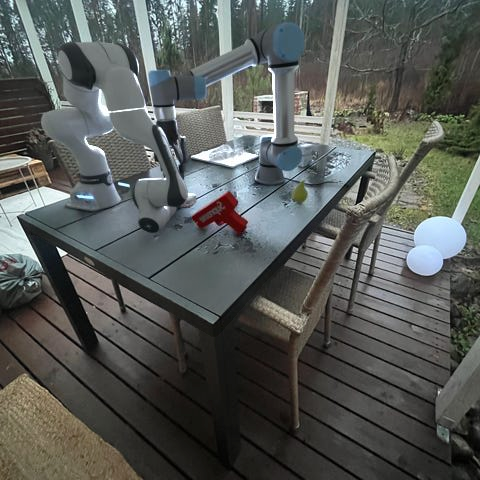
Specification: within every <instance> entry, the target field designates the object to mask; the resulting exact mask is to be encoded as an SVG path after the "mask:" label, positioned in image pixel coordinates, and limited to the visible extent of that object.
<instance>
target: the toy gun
mask: <svg viewBox="0 0 480 480" xmlns="http://www.w3.org/2000/svg"><path fill="white" fill-rule="evenodd" d="M238 205H239V200H238V199H237V197H236V196H235V195H234V194H233V193H232V191H231V190H227V191H226V192H224V193H222V194H221V195H220V196H218V197H216V198H215V199H213V200H212V201H211V202H209V203H208V204H206V205H204V206H203V207H201V208H200V209H198V210H197V211H195V213H194V214H193V215H192V216H191V217H190V219H192V221H193V222H194V224H196V226H197V227H198V228H199V229H201V230H202V229H204V228H206V227H209V226H210V225H211V224H213V223H215V225H216V226H217V227H221V226H223V225H225V224H226V225H227V226H229V227H230V228H231V229H232V230H234V232H235V235H237V236H239V234H241V233H242V234H244V233H245V231H246V230H247V228H248V226H247V225H248V224H249V221H248V220H247V219H246V218H245V217H244V216H242V215H241V214H239V213H238V212H237V210H235V209H237V206H238Z"/></svg>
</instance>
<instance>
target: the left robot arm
mask: <svg viewBox="0 0 480 480" xmlns="http://www.w3.org/2000/svg"><path fill="white" fill-rule="evenodd" d="M56 56H57V63H58V67H59V69H60V72H61V73H62V84H63V85H62V89H63V90H62V93H63V96H64V98H65V100H66V101H67V102H68V103H69V104H70V105H71V106H73V107H64V108H63V107H62V108H55V109H52V110H49V111H46V112H43V114H42V115H41V118H40V124H41V128H42V130H43V132H44V133H45V135H46V136H47V137H49V139H51V140H53V141H55V142H56V143H59V144H61V145H63V146H64V147H65V148H66V149H67V150H68V151H69V152H70V153H71V154H72V156H73V158H74V160H75V162H76V165H77V168H78V170H79V173H78V174H77V175H75V176H74V177H76V179H78V183H76V184H75V186H73V188H71V189H70V192H69V197H70V200H69V201H68V202H67V203H66V207H67V208H69V209H70V208H72V209H75V210H82V211H88V212H96V211H99V210H102V209H107V208H110V207H111V208H112V207H113V206H116V205H118V204H119V203H120V202H121V201H122V198H121V196H120V195H119V193H118V191H117V189H116V186H115V184H114V179H113V174H112V171H111V169H110V168H109V165H108V161H107V158H106V157H107V156H106V154H105V152H104V151H103V150H102V149H101V148H99V147H97V146H93V145H90V144H89V143H88V141H87V139H88V138H93V137H99V136H104V135H105V134H108V133H110V132H112V131H113V130H114V131H115V132H116V134H118V135H119V136H120V137H122V138H123V139H124V140H126V141H129V142H131V143H134V144H137V145H141V146H144V147H146V148H148V149H150V150H151V151H152V152H153V154H154V153H155V154H156V156H157V158H158V160H159V163H160V164H159V163H158V164H159V166H160V165H161V168H162V170H163V171H162V174H163V173H164V175H165V178H164V177H157V178H156V177H155V178H153V177H151V178H141V179H140V178H139V179H138V180H136V182H135V183H134V184H133V187H132V190H131V199H132V202H133V204H134V206H135V207H136V209H137V210H138V219H137V224H138V226H139V227H140V229H141V230H143V231H144V232H146V233H148V234H156V233H158V232H160V231H162V230H163V229H164V228H165V227H166V226H167V224H168V223H169V221H170V219H171V218H172V217H173V216H174V214H175V213H176V212H177V211H178V209H177V208H181V209H185V210H187V209H191V208H192V207H194V206H195V205H196V203H197V195H196V194H195V193H189V190H188V186H187V183H186V181H185V179H184V180H183V178H182V176H181V174H180V172H179V169H178V164H177V161H176V159H175V156H174V153H173V151H172V147H171V146H169V143H168V141H167V138H166V136H165V134H164V132H163V130H162V129H161V128H160V127H159V126H157V125H156V123H155V121H153V120H152V118H151V116H150V114H149V112H148V108H147V104H146V100H145V97H144V94H143V90H142V87H141V85H140V82H139V80H138V76H139V71H140V70H139V69H140V68H139V62H138V59H137V55H136V54H135V53H134V51H133V50H132V48H131V47H129V46H127V45H125V44H121V43H112V42H111V43H110V42H105V41H86V42H85V41H82V42H80V41H75V42H74V41H69V42H64V43H62V44H60V45H59V46H58V49H57V55H56ZM101 94H103V97H104V101H105V102H104V103H105V105H106V106H104V105H102V102H101V97H102V96H101ZM117 183H118V186H123V187H128V188H130V184H128V183H123V182H117Z"/></svg>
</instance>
